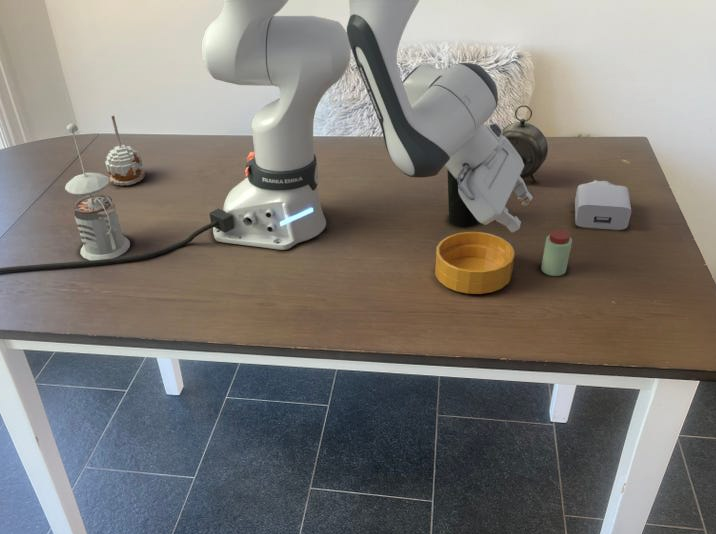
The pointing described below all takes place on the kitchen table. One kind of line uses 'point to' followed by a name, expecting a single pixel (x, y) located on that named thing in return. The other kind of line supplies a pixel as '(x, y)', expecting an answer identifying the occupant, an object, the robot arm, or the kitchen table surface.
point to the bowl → (474, 262)
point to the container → (556, 253)
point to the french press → (95, 215)
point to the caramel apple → (123, 163)
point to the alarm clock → (527, 144)
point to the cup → (458, 206)
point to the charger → (602, 206)
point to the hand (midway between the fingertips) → (523, 215)
